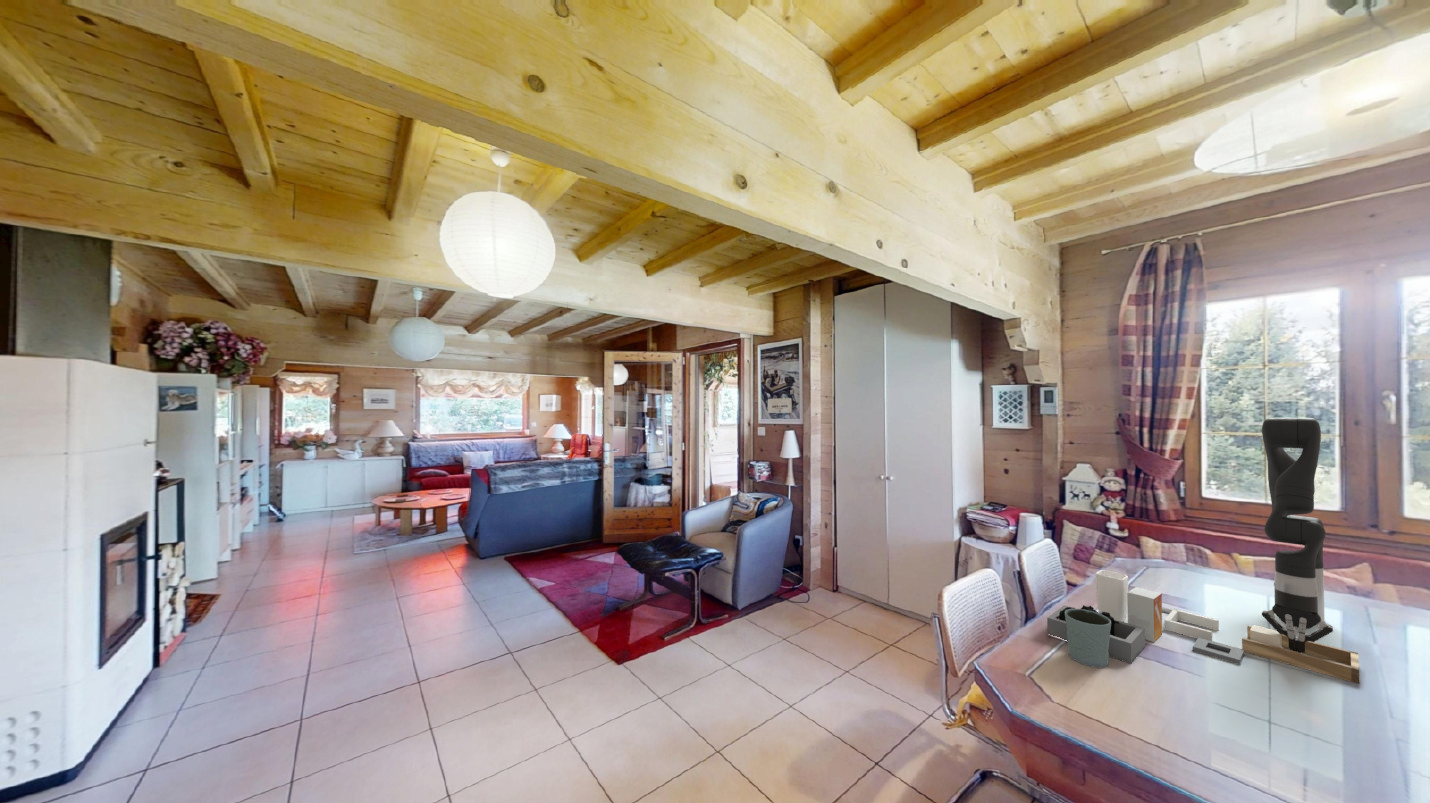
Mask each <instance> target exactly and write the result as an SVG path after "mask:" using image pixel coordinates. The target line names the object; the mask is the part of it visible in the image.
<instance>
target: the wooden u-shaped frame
mask: <svg viewBox="0 0 1430 803" xmlns="http://www.w3.org/2000/svg"><path fill="white" fill-rule="evenodd" d="M1251 627H1252V625H1251V626H1250V625H1247V626H1246V630H1247V632H1246V633H1247V635H1246V636H1247V638H1245V637H1242V638H1241V644H1242V645H1241V647H1242V648H1241V649H1243V650H1244V653H1247V654H1251V655H1254V656H1257V657H1262V658H1265V659H1268V660H1269V659H1270V660H1272V661H1276V662H1280V663H1284V664H1287V665H1289V666H1294V667H1298V668H1301V669H1305V670H1308V671H1312V672H1315V673H1320V674H1323V675H1326V676H1330V677H1334V678H1337V679H1340V680H1343V681H1348V682H1351V683H1354V684H1355V683H1356V684H1358V685H1360V683H1361V682H1360V660H1359V652H1356V651H1351V650H1349V649H1343V648H1340V647H1335V646H1331V645H1329V644H1324V643H1320V642H1316V641H1315V642H1311V641H1306V642H1305V652H1304V653H1299V652H1295V651H1293V650H1290V649H1289V639H1288V637H1287V636H1285V635H1283V634H1282V648H1280V647H1276V646H1272V645H1269V644H1265V643H1261V642H1257V641H1253V640H1250V629H1251Z"/></svg>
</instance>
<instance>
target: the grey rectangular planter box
mask: <svg viewBox="0 0 1430 803" xmlns="http://www.w3.org/2000/svg"><path fill="white" fill-rule="evenodd" d="M1066 607H1069V606H1067V605H1062V606H1061V607H1060V608H1058V609H1057V610H1056V611H1054V612H1053V613H1051V614H1050V615H1049V616H1047V618H1046V621H1047V622H1046V623H1047V624H1046V625H1047V627H1046V628H1047V635H1048V634H1050V635H1053V636H1057V637H1060V638H1062V639H1064V640H1067V630H1068V629H1067V627H1066V626H1067V624H1066V621H1063V620H1060V619H1059V613H1060V611H1062V610H1063V609H1065V608H1066ZM1074 608H1075V607H1074ZM1075 609H1077V608H1075ZM1115 621H1118V620H1115ZM1118 622H1119V623H1120V624H1118V623H1115V624H1114V635H1115V636H1112V635H1110V639H1109V648H1108V653H1109V657H1110V658H1113V657H1114V658H1113V659H1116V658H1117V660H1120V661H1122V660H1123V662H1125V661H1126V662H1125V663H1128V664H1133V663H1134V661H1135V660H1136V659H1137V658H1136V657H1138V656H1139V655H1140V654H1141V653H1142V652H1143V650H1144V649H1145V648H1146V640H1145V628H1142V627H1139V626H1135V625H1132V624H1128V622H1125V621H1123V622H1121V621H1118ZM1067 641H1068V640H1067ZM1143 648H1144V649H1143ZM1132 662H1133V663H1132Z"/></svg>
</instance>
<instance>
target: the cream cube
mask: <svg viewBox="0 0 1430 803" xmlns="http://www.w3.org/2000/svg"><path fill="white" fill-rule="evenodd" d="M1250 640H1253V641H1257V642H1261V643H1265V644H1269V645H1272V646H1276V647H1280V648H1282V634H1280V633H1278V632H1277V631H1276V629H1271V628H1268V627H1263V626H1259V625H1257V624H1256V625H1254V624H1252V625H1251V629H1250Z"/></svg>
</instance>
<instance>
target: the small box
mask: <svg viewBox="0 0 1430 803" xmlns="http://www.w3.org/2000/svg"><path fill="white" fill-rule="evenodd" d="M1162 594H1163V593H1162V592H1159V591H1154V590H1150V589H1146V588H1142V587H1138V586H1135V587H1133V588H1131V589H1130V590H1128V593H1127V602H1128V605H1127V623H1128V624H1132V625H1135V626H1139V627H1142V628H1145V641H1149V642H1151V643H1152V642H1153V643H1155V642H1156V641H1157V640H1158V639H1160V637H1162V636H1163V612H1162V607H1163V603H1162V602H1163V598H1162V597H1163V596H1162Z"/></svg>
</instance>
